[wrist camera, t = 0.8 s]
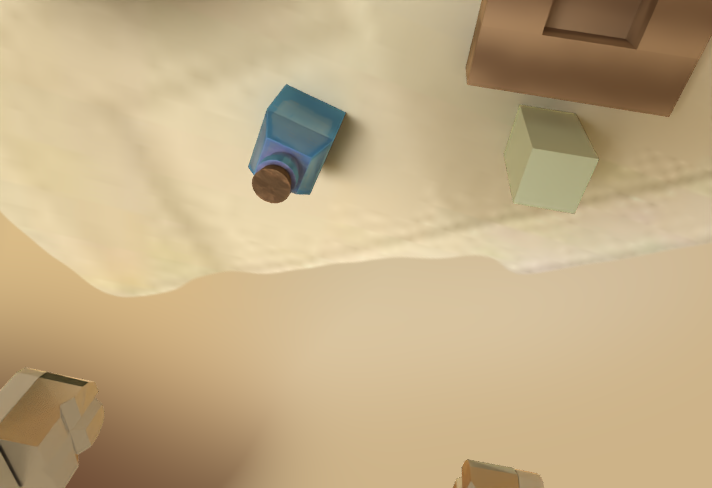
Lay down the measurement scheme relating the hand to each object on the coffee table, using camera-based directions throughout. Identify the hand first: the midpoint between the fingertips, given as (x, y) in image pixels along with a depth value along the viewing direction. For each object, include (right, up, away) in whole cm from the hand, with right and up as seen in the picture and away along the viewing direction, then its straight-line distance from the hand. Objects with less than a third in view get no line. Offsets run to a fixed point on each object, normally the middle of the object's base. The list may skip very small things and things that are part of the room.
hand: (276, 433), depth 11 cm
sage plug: (+19, +14, +35) cm, 43 cm away
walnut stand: (+20, +24, +28) cm, 42 cm away
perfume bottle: (-3, +16, +39) cm, 42 cm away
